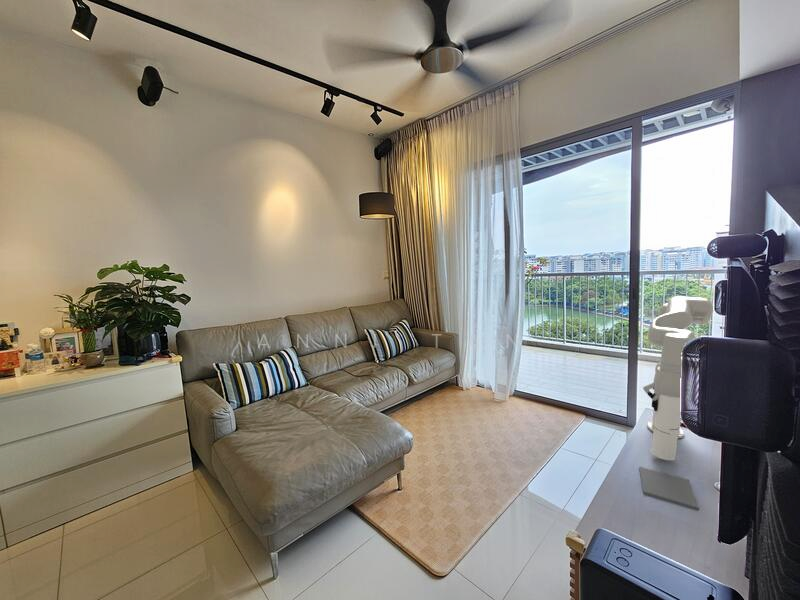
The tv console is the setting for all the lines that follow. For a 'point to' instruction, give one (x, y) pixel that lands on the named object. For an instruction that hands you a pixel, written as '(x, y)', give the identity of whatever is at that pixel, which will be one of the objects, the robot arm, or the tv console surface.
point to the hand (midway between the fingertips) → (668, 411)
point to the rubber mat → (668, 487)
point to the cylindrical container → (666, 427)
